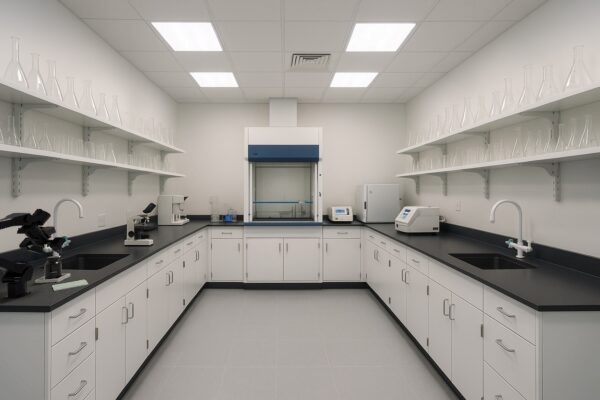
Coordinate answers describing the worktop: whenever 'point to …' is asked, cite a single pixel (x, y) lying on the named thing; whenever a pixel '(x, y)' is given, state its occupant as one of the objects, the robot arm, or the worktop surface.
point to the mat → (69, 285)
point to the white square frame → (43, 280)
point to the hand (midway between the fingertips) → (52, 253)
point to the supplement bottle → (53, 268)
